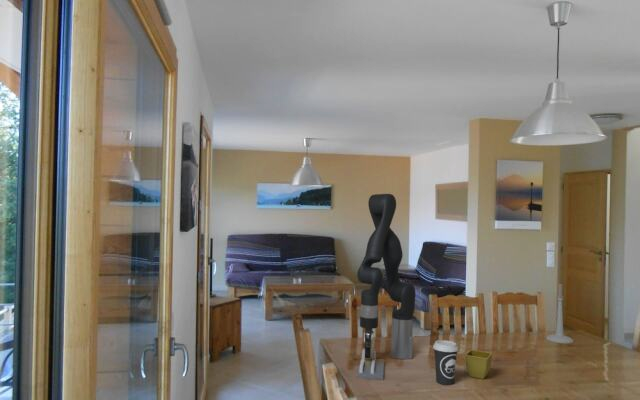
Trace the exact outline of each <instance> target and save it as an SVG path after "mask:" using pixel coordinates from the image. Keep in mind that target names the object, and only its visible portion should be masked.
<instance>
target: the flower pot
mask: <svg viewBox="0 0 640 400" xmlns="http://www.w3.org/2000/svg"><path fill="white" fill-rule="evenodd" d="M464 357H465V358H464V361H465V365H466V366H465V367H466V370H467V372H468V374H469V376H470V377H472V378H476V379H480V380H481V379H482V380H483V379H485V378H486V377H487V375H488V373H490V372H489V371H490V369H491V366H492V365H491V364H492V359H493V353H492V352H486V351H481V350H475V349H470V350H469V351H468V352H466V354H465V355H464Z"/></svg>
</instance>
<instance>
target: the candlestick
mask: <svg viewBox="0 0 640 400" xmlns="http://www.w3.org/2000/svg"><path fill="white" fill-rule="evenodd" d="M557 286H558V287H557V295H556V298H557V301H558V302H557V314H556V327H555V328H556V329H555V334H554V333H553V334H549V335H547V336H546V337H545V338H546V340H547V341H549V342H553V343H557V344H558V343H559V344H573V343H574V340H573V338H571V337H570V336H567V335H565V334H564V315H563V300H564V296H563V283H558V284H557Z"/></svg>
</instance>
